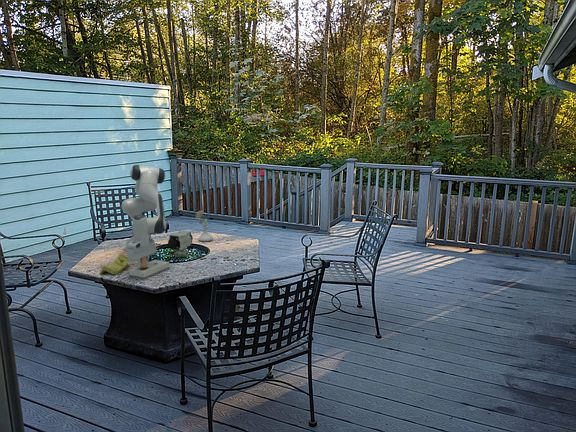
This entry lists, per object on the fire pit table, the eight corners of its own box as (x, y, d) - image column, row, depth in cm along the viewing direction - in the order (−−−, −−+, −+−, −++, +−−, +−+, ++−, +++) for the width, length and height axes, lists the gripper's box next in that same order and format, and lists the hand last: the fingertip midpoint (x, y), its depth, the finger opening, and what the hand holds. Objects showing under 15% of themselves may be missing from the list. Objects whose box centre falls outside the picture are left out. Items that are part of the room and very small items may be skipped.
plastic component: (116, 271, 260) (102, 264, 260) (113, 281, 262) (98, 274, 262) (132, 259, 279) (119, 252, 279) (129, 268, 281) (115, 262, 281)
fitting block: (143, 279, 253) (143, 272, 252) (129, 276, 259) (128, 269, 258) (169, 268, 273) (169, 262, 272) (155, 265, 278) (154, 259, 277)
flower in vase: (208, 238, 346) (207, 207, 341) (215, 240, 338) (214, 209, 332) (193, 240, 338) (192, 209, 333) (200, 243, 329) (199, 211, 324)
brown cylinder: (139, 272, 260) (137, 256, 258) (143, 270, 263) (142, 254, 261) (144, 273, 258) (142, 257, 256) (148, 271, 262) (147, 255, 260)
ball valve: (178, 260, 288) (176, 235, 285) (168, 259, 292) (166, 233, 288) (195, 253, 304) (194, 229, 300) (185, 252, 308) (184, 228, 304)
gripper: (150, 237, 268) (151, 258, 270) (124, 245, 250) (126, 268, 252) (157, 238, 265) (159, 259, 268) (132, 246, 247) (134, 269, 250)
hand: (143, 264), depth 260 cm, fingers closed on brown cylinder, 4 cm apart
